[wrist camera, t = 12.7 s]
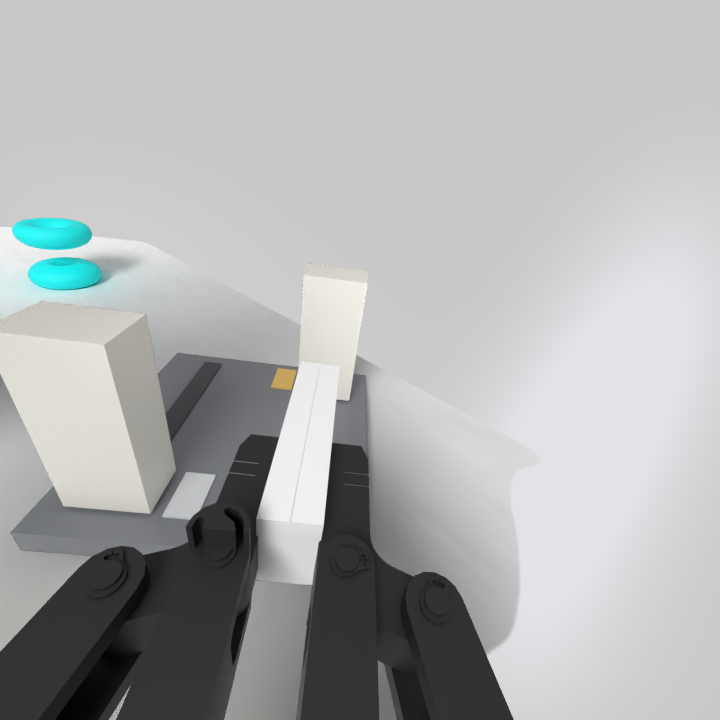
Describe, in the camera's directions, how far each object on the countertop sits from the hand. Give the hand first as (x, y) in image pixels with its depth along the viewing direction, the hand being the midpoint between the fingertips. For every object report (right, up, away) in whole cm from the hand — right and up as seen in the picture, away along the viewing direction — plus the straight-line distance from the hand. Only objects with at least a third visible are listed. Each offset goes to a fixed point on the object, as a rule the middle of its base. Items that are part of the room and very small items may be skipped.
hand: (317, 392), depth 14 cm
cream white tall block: (-2, -2, +27) cm, 27 cm away
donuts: (-50, +15, +47) cm, 71 cm away
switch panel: (-10, -7, +21) cm, 24 cm away
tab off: (-16, -8, +12) cm, 22 cm away
